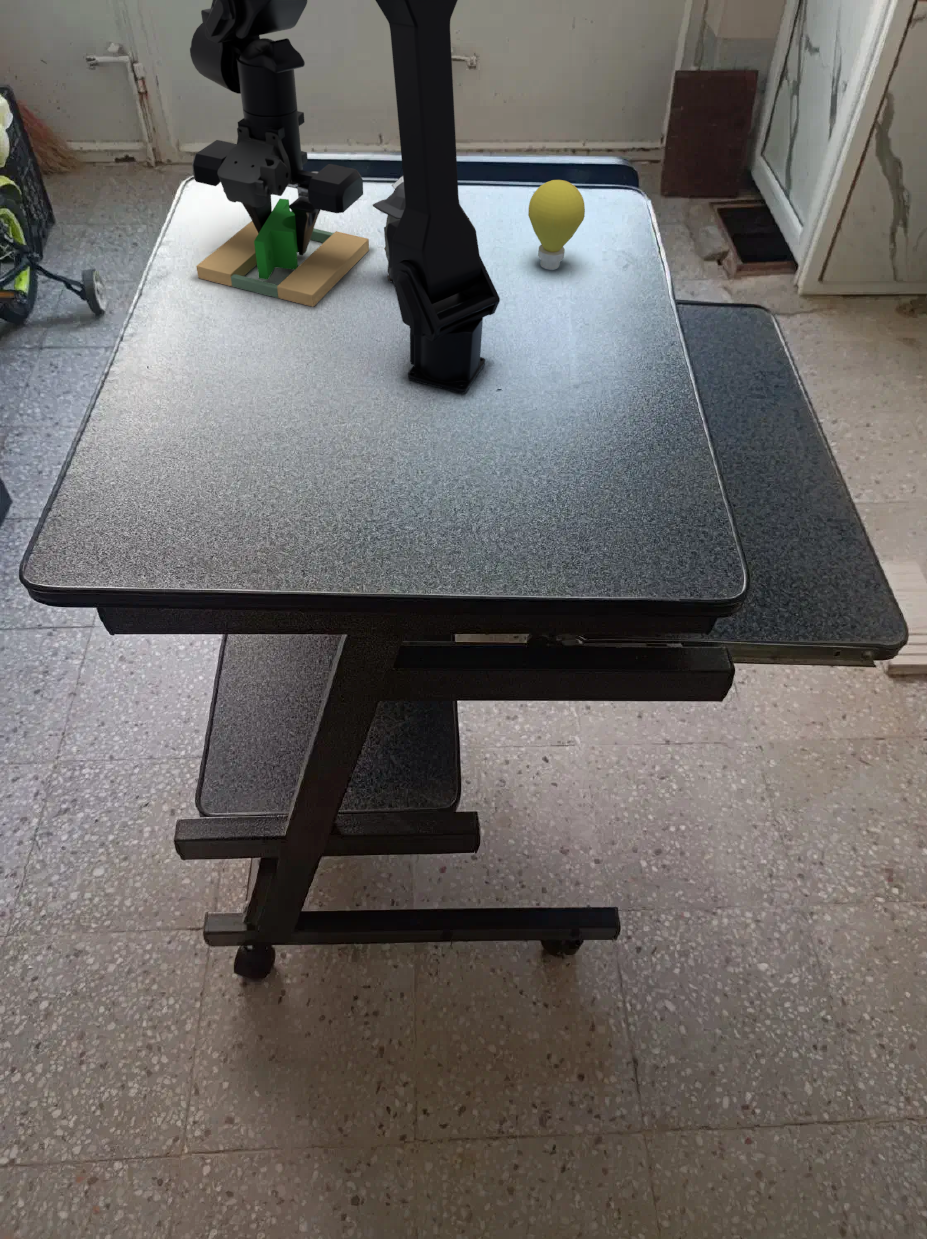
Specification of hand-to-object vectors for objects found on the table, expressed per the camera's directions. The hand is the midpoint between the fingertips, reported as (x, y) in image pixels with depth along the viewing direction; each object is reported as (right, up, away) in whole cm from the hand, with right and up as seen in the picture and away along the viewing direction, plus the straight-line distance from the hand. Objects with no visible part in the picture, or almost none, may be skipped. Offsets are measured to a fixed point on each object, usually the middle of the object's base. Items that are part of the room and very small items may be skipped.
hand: (285, 249), depth 107 cm
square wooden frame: (0, -1, +1) cm, 2 cm away
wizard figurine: (+14, -4, 0) cm, 15 cm away
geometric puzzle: (+15, +10, +12) cm, 22 cm away
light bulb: (+32, 0, +5) cm, 32 cm away
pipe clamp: (0, -1, +1) cm, 1 cm away
